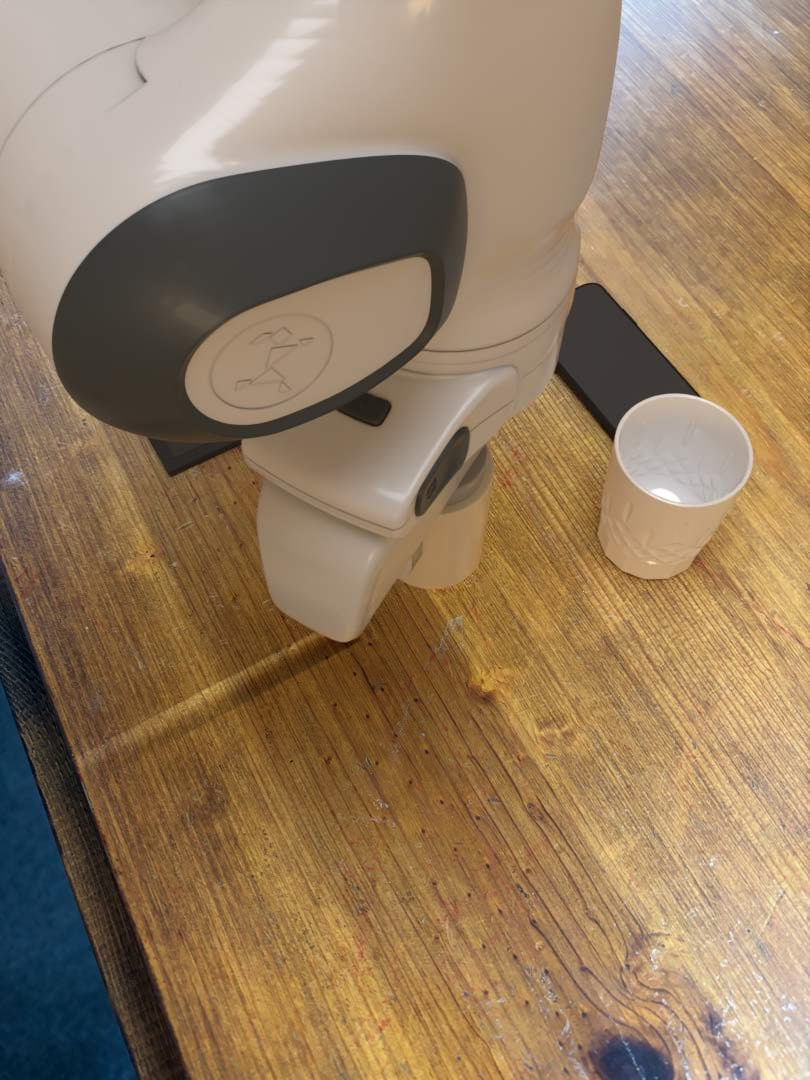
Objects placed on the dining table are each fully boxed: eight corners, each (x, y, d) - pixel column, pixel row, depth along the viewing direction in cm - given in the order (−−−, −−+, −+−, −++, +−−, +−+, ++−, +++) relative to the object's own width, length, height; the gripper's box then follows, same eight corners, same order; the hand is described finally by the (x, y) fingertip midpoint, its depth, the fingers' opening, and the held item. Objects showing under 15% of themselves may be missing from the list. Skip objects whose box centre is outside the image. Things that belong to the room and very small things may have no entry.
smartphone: (638, 464, 71) (514, 314, 77) (635, 471, 72) (512, 322, 78) (724, 418, 73) (596, 276, 79) (720, 426, 74) (594, 284, 80)
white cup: (562, 529, 70) (586, 440, 61) (646, 464, 72) (679, 371, 63) (650, 612, 67) (688, 531, 58) (734, 542, 69) (782, 455, 60)
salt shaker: (412, 607, 51) (414, 520, 44) (360, 527, 53) (355, 431, 46) (503, 560, 53) (519, 468, 45) (449, 484, 55) (456, 384, 48)
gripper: (498, 115, 44) (476, 338, 56) (208, 474, 35) (257, 648, 47) (640, 169, 42) (586, 387, 54) (374, 559, 33) (380, 717, 45)
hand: (431, 510), depth 50 cm, fingers closed on salt shaker, 5 cm apart
